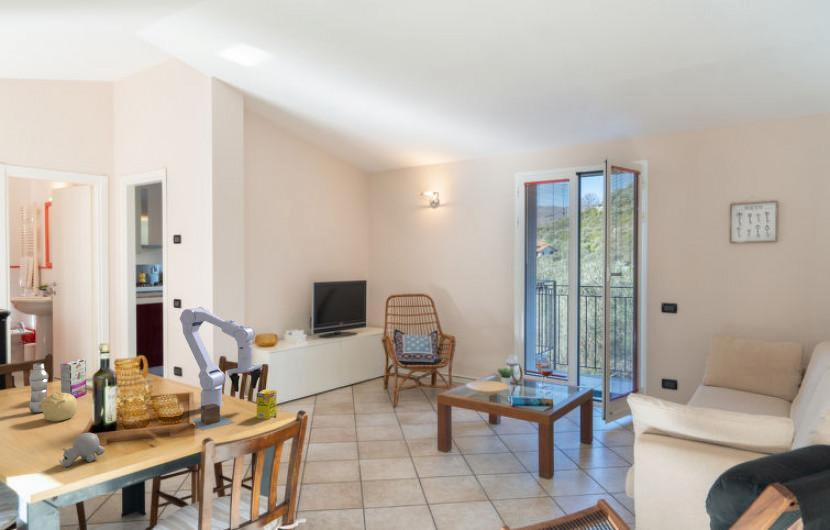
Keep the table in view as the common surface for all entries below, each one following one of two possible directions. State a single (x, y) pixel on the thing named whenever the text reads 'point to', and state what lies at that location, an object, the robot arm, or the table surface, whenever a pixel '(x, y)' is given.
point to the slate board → (204, 427)
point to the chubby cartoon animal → (83, 449)
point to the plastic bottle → (38, 387)
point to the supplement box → (266, 404)
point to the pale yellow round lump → (59, 406)
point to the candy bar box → (74, 377)
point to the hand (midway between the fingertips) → (245, 389)
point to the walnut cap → (210, 414)
